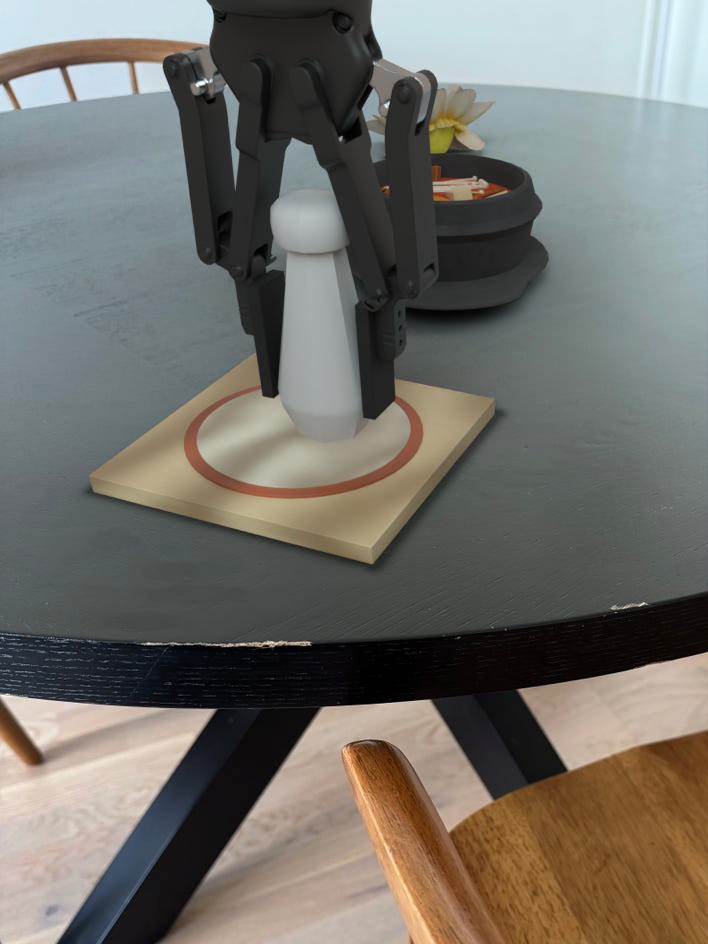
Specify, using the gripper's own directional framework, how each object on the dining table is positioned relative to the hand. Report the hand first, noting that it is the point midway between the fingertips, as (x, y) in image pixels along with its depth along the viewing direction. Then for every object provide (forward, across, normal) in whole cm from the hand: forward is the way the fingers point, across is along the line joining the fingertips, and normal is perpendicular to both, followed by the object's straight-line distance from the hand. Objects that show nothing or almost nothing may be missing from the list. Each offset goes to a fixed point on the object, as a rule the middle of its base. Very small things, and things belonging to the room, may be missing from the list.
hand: (329, 397), depth 56 cm
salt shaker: (+2, 0, 0) cm, 2 cm away
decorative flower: (+6, +24, -70) cm, 75 cm away
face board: (+6, +4, -2) cm, 7 cm away
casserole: (+6, +8, -34) cm, 36 cm away
